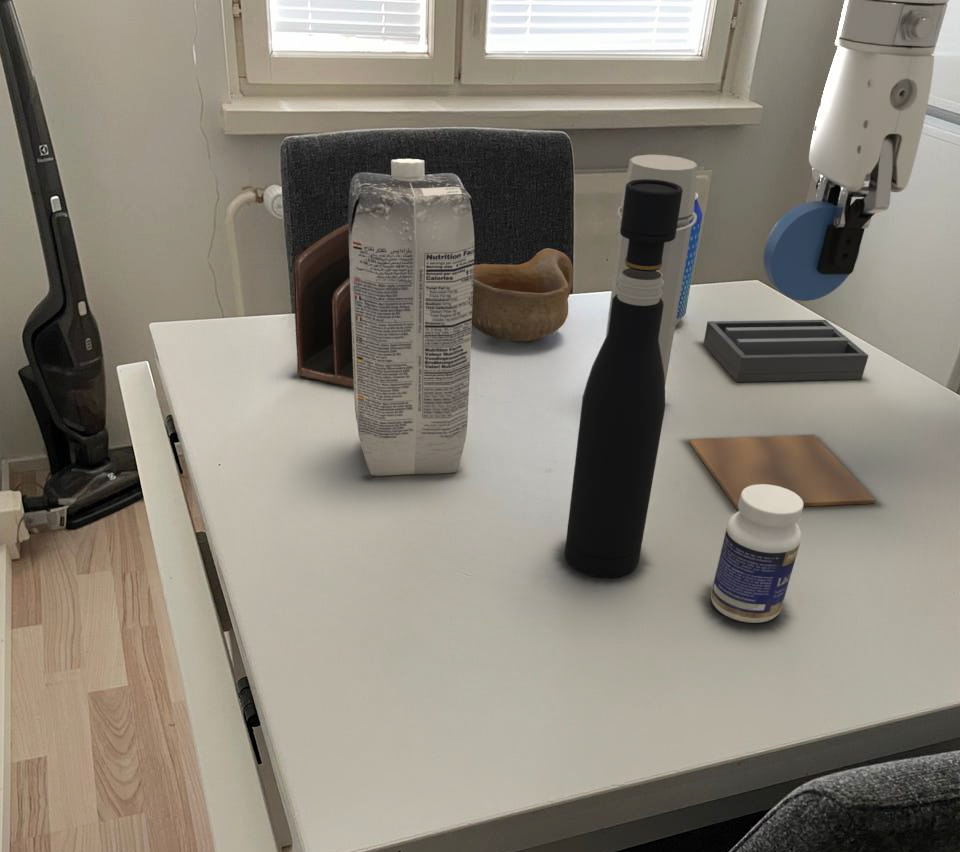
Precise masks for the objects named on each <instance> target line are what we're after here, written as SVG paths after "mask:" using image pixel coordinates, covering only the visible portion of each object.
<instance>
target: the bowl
mask: <svg viewBox="0 0 960 852" xmlns="http://www.w3.org/2000/svg"><path fill="white" fill-rule="evenodd" d="M573 282H574V267H573V264H572V261H571V259H570V258H569V256H567V254H565V253H564V252H562V251H559V250H557V249H554V248H549V247H548V248H543V249H542V250H540V251H538V252H537V253H536V254H535V255H534V256H533V257H532V258H531V259H530V260H529V261H526V262H523V263H520V264H501V263H499V264H497V263H496V264H495V263H494V264H493V263H490V264H489V263H481V264H474V275H473V302H472V327H473V328H474V329H476V330H477V331H479V332H480V333H482V334H484V335H486V336H488V337H490V338H492V339H496V340H499V341H506V342H514V343H515V342H517V343H519V342H520V343H525V342H532V341H537V340H540V339H543V338H546V337H548V336H550V335H552V334H554V333H556V332H557V331H558V330H559V329H560V328H561V327H563V326H564V324H565V323H566V320H567V318H568V315H569V297H570V295H571V292H572V287H573Z"/></svg>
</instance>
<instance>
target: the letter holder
mask: <svg viewBox="0 0 960 852" xmlns="http://www.w3.org/2000/svg"><path fill="white" fill-rule="evenodd" d="M292 283H293V284H292V285H293V287H292V288H293V307H294V308H293V309H294V325H295V342H296V344H295V345H296V360H297V362H296V364H297V365H296V368H297V374H298V377H299V378H305V379H311V380H314V381H319V382H325V383H329V384H334V385H338V386H342V387H348V388H353V389H354V376H353V349H352V321H351V293H350V263H349V223H347V224H344V225H342V226H340V227H339V228H336V229H335V230H333V231H332V232H329V233H328V234H326V235H325V236H323V237H321V238H320V239H319V240H318V241H316V242H314V243H313V244H311V245H310V246H308V248H306V249H305V250H304V251H302V253H301V254H299V255H298V256H297V257H296V259H295V261H294V263H293V267H292Z"/></svg>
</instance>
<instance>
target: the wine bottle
mask: <svg viewBox="0 0 960 852" xmlns="http://www.w3.org/2000/svg"><path fill="white" fill-rule="evenodd" d="M682 192H683V190H682V187H680V186H679V185H677V184H675V183H672V182H667V181H662V180H652V179H640V180H633V181H630V182H628V183H627V184H626V188H625V196H624V204H623V212H621V215H622V220H621V228H620V227H619V228H620V234H621V235H622V236H623V237H625V238H627V239H629V242H628V249H627V257H626V258H625V264H626V266H627V267H629V268H625V269H623V270H622V271H621V275H620V276H619V277H618V282H619V286H618V287H617V288H616V289H617V292H618V294H616V295H615V296H614V297H613V298H612V305H611V313H610V321H609V329H608V334H607V336H606V335H605V339H604V340H603V342H602V345H601V346H600V349H599V350H598V352H597V355H596V357H595V359H594V361H593V362H592V363H593V364H592V366H591V369H590V372H589V374H588V377H587V380H586V383H585V387H584V390H583V394H582V400H581V408H580V415H579V416H580V417H579V426H578V434H577V443H576V450H575V460H574V468H573V477H572V485H571V486H572V487H571V495H570V503H569V510H568V511H569V513H568V520H567V529H566V538H565V546H564V547H565V548H564V558H565V560H566V561H567V563H568V565H570V567H572V568H573V569H575V570H576V571H578V572H580V573H582V574H584V575H586V576H587V575H588V576H590V577H595V578H603V579H604V578H605V579H612V578H619V577H622V576H623V577H624V576H626V575H628V574H630V573H632V572H633V571H634V570H636V569H637V567H638V565H639V562H640V556H641V551H642V545H643V540H644V535H645V534H644V533H645V528H646V521H647V517H648V510H649V505H650V498H651V492H652V486H653V482H654V475H655V469H656V463H657V458H658V452H659V446H660V440H661V435H662V434H661V433H662V428H663V421H664V416H665V410H666V384H665V377H664V369H663V363H662V357H661V352H660V346H659V332H660V326H661V320H662V313H663V307H664V303H663V300H662V299H661V298H660V297H661V296H662V294H663V292H662V290H661V287H662V286H663V285H664V281H663V274H662V273H661V272H659V271H657V270H658V269H660V268H661V267H662V256H663V249H664V243H665V242H670V241H672V240H674V239H675V236H676V230H677V224H678V217H679V211H680V205H681V199H682Z"/></svg>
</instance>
